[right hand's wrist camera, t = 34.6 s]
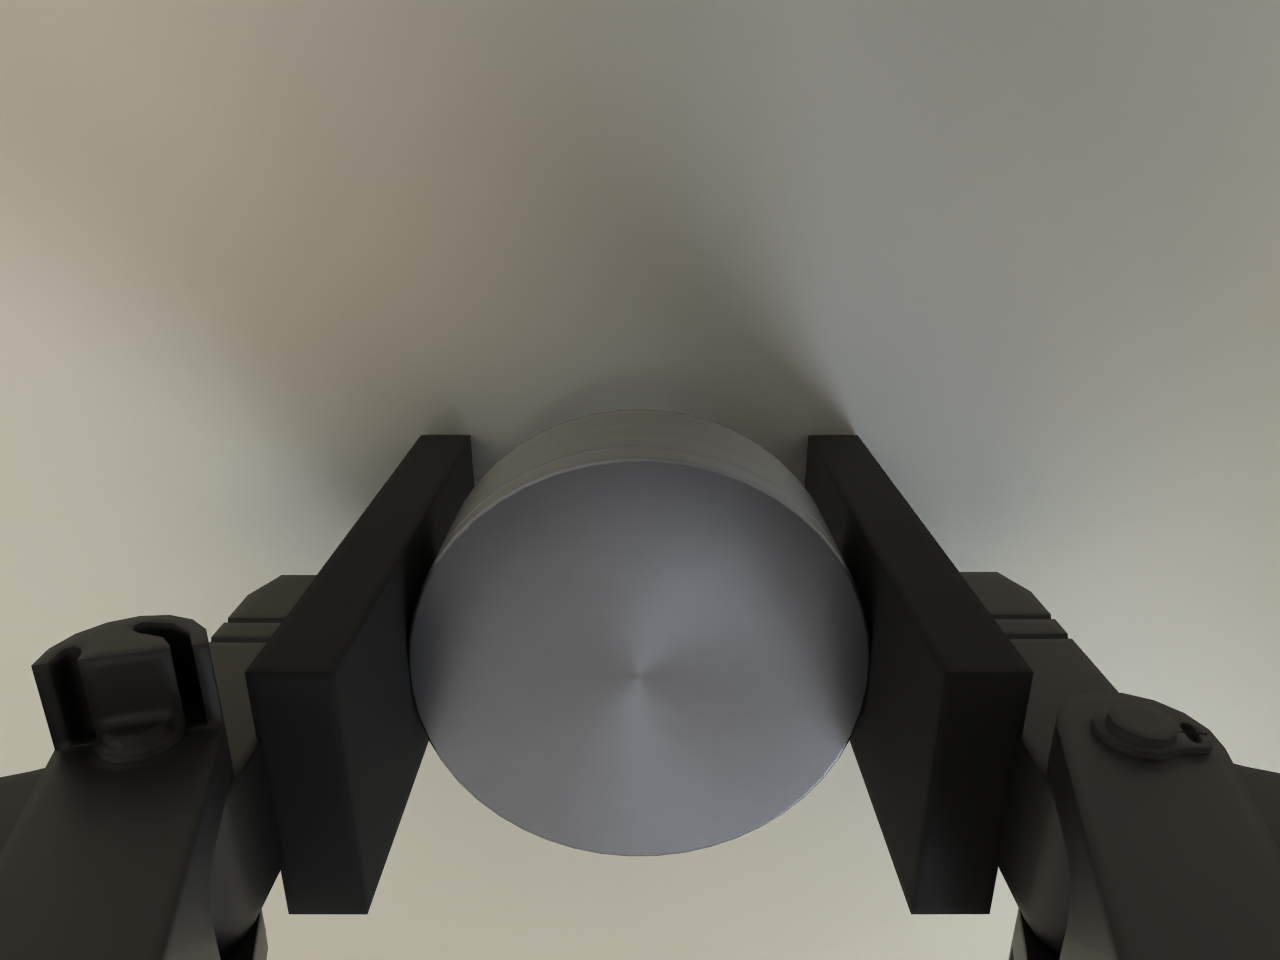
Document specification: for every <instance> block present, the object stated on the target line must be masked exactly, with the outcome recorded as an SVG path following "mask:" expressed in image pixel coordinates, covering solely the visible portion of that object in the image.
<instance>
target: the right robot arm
mask: <svg viewBox="0 0 1280 960" xmlns="http://www.w3.org/2000/svg"><path fill="white" fill-rule="evenodd" d="M473 488H474V483H473V469H472V455H471V441H470V435H421V436H420V438H419V439H418V440H417V442H416V443H415V444H414V446H413V447H412V448H411V450H410V451H409V452H408V454H407V455H406V456H405V458H404V459H403V460H402V462H401V463H400V464H399V466H398V467H397V468H396V470H395V471H394V472H393V474H392V475H391V477H390V478H389V479H388V481H387V482H386V483H385V485H384V486H383V487H382V489H381V490H380V491H379V493H378V494H377V495H376V497H375V498H374V499H373V501H372V502H371V503H370V505H369V506H368V507H367V509H366V510H365V511H364V513H363V514H362V515H361V517H360V518H359V519H358V521H357V522H356V523H355V525H354V526H353V527H352V529H351V530H350V531H349V533H348V534H347V535H346V537H345V538H344V540H343V541H342V542H341V544H340V545H339V546H338V548H337V549H336V550H335V552H334V553H333V554H332V556H331V557H330V558H329V560H328V561H327V562H326V564H325V565H324V566H323V568H322V569H321V570H320V572H319V573H318V574H317V575H281V576H280V577H278V578H276V579H274V580H273V581H271V582H269V583H268V584H266V585H264V586H263V587H261V588H259V589H257V590H256V591H254V592H252V593H251V594H249V595H248V596H247V597H246V598H245V599H244V600H243V601H242V603H241V604H240V605H239V606H238V607H237V608H236V610H235V611H234V612H233V613H232V614H231V615H230V616H229V618H228V623H223V625H222V626H221V627H220V628H219V629H218V630H217V631H216V633H215V634H214V635H213V636H212V637H211V642H208V637H207V632H206V629H205V628H204V627H202V626H201V625H199V624H198V623H197V622H195V621H194V620H192V619H187V618H182V617H177V616H172V615H157V616H138V617H133V618H128V619H123V620H118V621H113V622H108V623H105V624H102V625H99V626H96V627H94V628H91V629H88V630H85V631H82V632H80V633H77V634H74V635H73V636H71V637H69V638H67V639H66V640H64V641H62V642H60V643H58V644H57V645H55V646H53V647H51V648H49V649H48V650H47V651H46V652H45V653H44V654H43V655H42V656H41V657H40V658H39V659H38V660H37V661H36V662H35V663H34V664H33V665H32V666H31V667H32V670H33V674H34V677H35V681H36V684H37V688H38V691H39V695H40V698H41V702H42V706H43V709H44V713H45V716H46V720H47V723H48V727H49V730H50V734H51V737H52V741H53V744H54V748H55V751H54V753H53V754H52V756H51V758H50V760H49V762H48V764H47V766H46V768H43V769H39V770H35V771H31V772H26V773H21V774H16V775H10V776H5V777H0V960H266V958H267V951H268V945H267V937H266V930H265V924H264V919H263V914H262V909H261V908H262V906H263V904H264V902H265V900H266V898H267V896H268V894H269V892H270V890H271V888H272V886H273V884H274V882H275V880H276V878H277V876H278V874H279V872H280V870H281V874H282V879H283V885H284V890H285V895H286V901H287V906H288V912H289V914H367V913H368V911H369V908H370V905H371V902H372V899H373V897H374V894H375V891H376V888H377V885H378V882H379V880H380V877H381V874H382V871H383V868H384V865H385V863H386V860H387V857H388V854H389V851H390V849H391V846H392V843H393V840H394V837H395V834H396V832H397V829H398V826H399V823H400V820H401V818H402V815H403V812H404V809H405V806H406V803H407V801H408V798H409V795H410V792H411V789H412V787H413V784H414V781H415V778H416V775H417V772H418V770H419V767H420V764H421V761H422V758H423V755H424V753H425V750H426V747H427V744H428V741H429V740H428V737H427V735H426V733H425V731H424V728H423V726H422V724H421V722H420V719H419V717H418V714H417V711H416V707H415V703H414V700H413V696H412V693H411V686H410V677H409V668H408V636H409V631H410V625H411V620H412V615H413V610H414V607H415V605H416V602H417V599H418V596H419V593H420V590H421V587H422V585H423V583H424V581H425V579H426V577H427V575H428V573H429V570H430V568H431V566H432V564H433V562H434V560H435V558H436V556H437V554H438V552H439V550H440V548H441V546H442V544H443V542H444V540H445V538H446V536H447V534H448V531H449V529H450V527H451V525H452V523H453V521H454V519H455V518H456V516H457V514H458V512H459V510H460V508H461V506H462V504H463V502H464V501H465V499H466V498H467V497H468V495H469V494H470V492H471V491H472V490H473ZM805 489H806V490H807V491H808V493H809V494H810V495H811V497H812V498H813V500H814V502H815V504H816V505H817V507H818V509H819V511H820V512H821V514H822V516H823V518H824V520H825V522H826V524H827V526H828V528H829V530H830V532H831V534H832V536H833V538H834V540H835V542H836V544H837V546H838V548H839V551H840V553H841V555H842V557H843V559H844V561H845V563H846V565H847V567H848V569H849V571H850V573H851V575H852V577H853V579H854V582H855V584H856V587H857V589H858V592H859V595H860V597H861V600H862V602H863V605H864V609H865V614H866V618H867V623H868V627H869V632H870V647H871V663H870V673H869V682H868V689H867V694H866V698H865V702H864V706H863V710H862V713H861V715H860V718H859V720H858V722H857V725H856V727H855V730H854V732H853V735H852V737H851V738H850V742H851V745H852V748H853V751H854V754H855V757H856V759H857V762H858V765H859V768H860V771H861V774H862V776H863V779H864V782H865V785H866V788H867V791H868V793H869V796H870V799H871V802H872V805H873V807H874V810H875V813H876V816H877V819H878V822H879V824H880V827H881V830H882V833H883V836H884V839H885V841H886V844H887V847H888V850H889V853H890V856H891V858H892V861H893V864H894V867H895V870H896V873H897V875H898V878H899V881H900V884H901V887H902V890H903V892H904V895H905V898H906V901H907V904H908V906H909V909H910V912H911V914H990V908H991V903H992V897H993V892H994V886H995V881H996V876H997V870H998V867H999V869H1000V871H1001V873H1002V875H1003V877H1004V879H1005V881H1006V883H1007V885H1008V887H1009V889H1010V891H1011V893H1012V895H1013V897H1014V899H1015V901H1016V903H1017V905H1018V907H1019V909H1018V914H1017V919H1016V924H1015V929H1014V935H1013V940H1012V945H1011V950H1010V955H1009V960H1280V773H1275V772H1270V771H1265V770H1260V769H1254V768H1249V767H1245V766H1241V765H1237V764H1233V762H1232V760H1231V758H1230V757H1229V755H1228V753H1227V751H1226V749H1225V748H1224V747H1223V745H1222V744H1221V743H1220V742H1219V741H1218V739H1217V738H1216V737H1215V736H1214V735H1213V734H1212V732H1211V731H1210V730H1209V729H1207V728H1206V727H1204V726H1203V725H1201V724H1200V723H1198V722H1197V721H1195V720H1194V719H1192V718H1191V717H1189V716H1188V715H1186V714H1185V713H1183V712H1180V711H1178V710H1176V709H1173V708H1171V707H1168V706H1166V705H1164V704H1161V703H1159V702H1157V701H1154V700H1150V699H1146V698H1141V697H1137V696H1133V695H1129V694H1124V693H1119V692H1118V691H1117V690H1116V689H1115V688H1114V687H1113V686H1112V684H1111V683H1110V682H1109V681H1108V680H1107V679H1106V677H1105V676H1104V675H1103V674H1102V673H1101V672H1100V671H1099V669H1098V668H1097V667H1096V666H1095V665H1094V664H1093V663H1092V661H1091V660H1090V659H1089V658H1088V657H1087V656H1086V655H1085V653H1084V652H1083V651H1082V650H1081V649H1080V648H1079V646H1078V645H1077V644H1076V643H1075V642H1074V641H1073V640H1072V639H1068V634H1067V633H1066V632H1065V630H1064V629H1063V628H1062V627H1061V626H1060V625H1059V623H1058V622H1057V621H1056V620H1055V619H1051V614H1050V613H1049V612H1048V611H1047V610H1046V609H1045V607H1044V606H1043V605H1042V604H1041V603H1040V602H1039V600H1038V599H1037V598H1036V597H1035V596H1034V595H1033V594H1032V592H1030V591H1029V590H1027V589H1025V588H1024V587H1022V586H1020V585H1018V584H1017V583H1015V582H1013V581H1012V580H1010V579H1008V578H1006V577H1005V576H1003V575H1001V574H1000V573H998V572H959V571H958V570H957V568H956V567H955V566H954V564H953V563H952V562H951V560H950V559H949V558H948V556H947V555H946V554H945V552H944V551H943V550H942V548H941V547H940V546H939V544H938V543H937V542H936V540H935V539H934V537H933V536H932V535H931V533H930V532H929V531H928V529H927V528H926V527H925V525H924V524H923V523H922V521H921V520H920V519H919V517H918V516H917V515H916V513H915V512H914V511H913V509H912V508H911V507H910V505H909V504H908V503H907V501H906V500H905V499H904V497H903V496H902V494H901V493H900V492H899V490H898V489H897V488H896V486H895V485H894V484H893V482H892V481H891V480H890V478H889V477H888V476H887V474H886V473H885V472H884V470H883V469H882V468H881V466H880V465H879V464H878V462H877V461H876V460H875V458H874V457H873V456H872V454H871V453H870V451H869V450H868V449H867V447H866V446H865V445H864V443H863V442H862V441H861V439H860V438H859V437H858V435H809V436H808V450H807V465H806V479H805Z"/></svg>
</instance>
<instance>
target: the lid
mask: <svg viewBox="0 0 1280 960" xmlns="http://www.w3.org/2000/svg"><path fill="white" fill-rule="evenodd" d="M870 663H871V647H870V632H869V627H868V623H867V618H866V614H865V609H864V605H863V602H862V600H861V597H860V595H859V592H858V589H857V587H856V584H855V582H854V579H853V577H852V575H851V573H850V571H849V569H848V567H847V565H846V563H845V561H844V559H843V557H842V555H841V553H840V551H839V548H838V546H837V544H836V542H835V540H834V538H833V536H832V534H831V532H830V530H829V528H828V526H827V524H826V522H825V520H824V518H823V516H822V514H821V512H820V511H819V509H818V507H817V505H816V504H815V502H814V500H813V498H812V497H811V495H810V494H809V493H808V491H807V490H806V489H805V488H804V486H803V485H802V484H801V482H800V481H799V480H798V479H797V477H796V476H795V475H794V474H793V473H792V472H791V471H790V470H789V469H788V468H787V467H786V466H785V465H784V464H782V463H781V462H780V461H779V460H778V459H777V458H776V457H775V456H773V455H772V454H771V453H769V452H768V451H766V450H765V449H764V448H762V447H761V446H760V445H758V444H757V443H755V442H754V441H752V440H750V439H748V438H746V437H744V436H743V435H741V434H739V433H737V432H735V431H733V430H732V429H729V428H726V427H724V426H721V425H719V424H716V423H713V422H711V421H708V420H705V419H701V418H697V417H693V416H689V415H685V414H681V413H675V412H666V411H657V410H620V411H612V412H605V413H598V414H593V415H589V416H585V417H582V418H578V419H574V420H571V421H567V422H565V423H562V424H560V425H557V426H555V427H553V428H550V429H548V430H545V431H543V432H541V433H539V434H537V435H536V436H534V437H532V438H531V439H529V440H527V441H525V442H524V443H522V444H520V445H519V446H517V447H516V448H515V449H513V450H512V451H511V452H509V453H508V454H507V455H506V456H504V457H503V458H502V459H500V460H499V461H498V462H497V463H496V464H495V465H494V466H493V467H492V468H491V469H490V470H489V471H488V472H487V473H486V474H485V475H484V476H483V477H482V478H481V479H480V480H479V481H478V483H477V484H476V486H475V487H474V488H473V490H472V491H471V492H470V494H469V495H468V497H467V498H466V499H465V501H464V502H463V504H462V506H461V508H460V510H459V512H458V514H457V516H456V518H455V519H454V521H453V523H452V525H451V527H450V529H449V531H448V534H447V536H446V538H445V540H444V542H443V544H442V546H441V548H440V550H439V552H438V554H437V556H436V558H435V560H434V562H433V564H432V566H431V568H430V570H429V573H428V575H427V577H426V579H425V581H424V583H423V585H422V587H421V590H420V593H419V596H418V599H417V602H416V605H415V607H414V610H413V615H412V620H411V625H410V631H409V636H408V668H409V677H410V686H411V693H412V696H413V700H414V703H415V707H416V711H417V714H418V717H419V719H420V722H421V724H422V726H423V728H424V731H425V733H426V735H427V737H428V740H429V741H430V743H431V745H432V746H433V748H434V749H435V751H436V753H437V754H438V756H439V757H440V759H441V761H442V762H443V763H444V765H445V766H446V767H447V768H448V769H449V771H450V772H451V773H452V774H453V776H454V777H455V778H456V779H457V780H458V782H459V783H460V784H461V785H463V786H464V787H465V788H466V789H467V790H468V791H469V792H470V793H471V794H472V795H473V796H474V797H475V798H476V799H477V800H479V801H480V802H481V803H483V804H484V805H485V806H487V807H488V808H489V809H491V810H492V811H493V812H495V813H496V814H497V815H499V816H500V817H502V818H504V819H506V820H507V821H509V822H511V823H513V824H514V825H516V826H518V827H520V828H521V829H523V830H525V831H528V832H530V833H532V834H535V835H537V836H539V837H542V838H544V839H546V840H549V841H552V842H555V843H559V844H562V845H565V846H568V847H571V848H575V849H580V850H585V851H590V852H595V853H600V854H611V855H621V856H659V855H668V854H677V853H684V852H689V851H693V850H698V849H702V848H707V847H711V846H714V845H717V844H720V843H723V842H726V841H729V840H732V839H735V838H737V837H740V836H742V835H744V834H746V833H748V832H750V831H753V830H755V829H757V828H759V827H761V826H763V825H765V824H766V823H768V822H769V821H771V820H773V819H774V818H776V817H778V816H779V815H781V814H783V813H784V812H785V811H787V810H788V809H789V808H791V807H792V806H793V805H794V804H796V803H797V802H798V801H800V800H801V799H802V798H803V797H805V796H806V795H807V794H808V793H809V792H810V791H811V790H812V789H813V788H814V787H815V786H816V785H817V784H818V783H819V782H820V781H821V780H822V779H823V778H824V777H825V775H826V774H827V773H828V771H829V770H830V769H831V768H832V766H833V765H834V764H835V762H836V761H837V760H838V759H839V757H840V755H841V754H842V752H843V750H844V749H845V747H846V745H847V743H848V742H849V740H850V738H851V737H852V735H853V732H854V730H855V727H856V725H857V722H858V720H859V718H860V715H861V713H862V710H863V706H864V702H865V698H866V694H867V689H868V682H869V673H870Z"/></svg>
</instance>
